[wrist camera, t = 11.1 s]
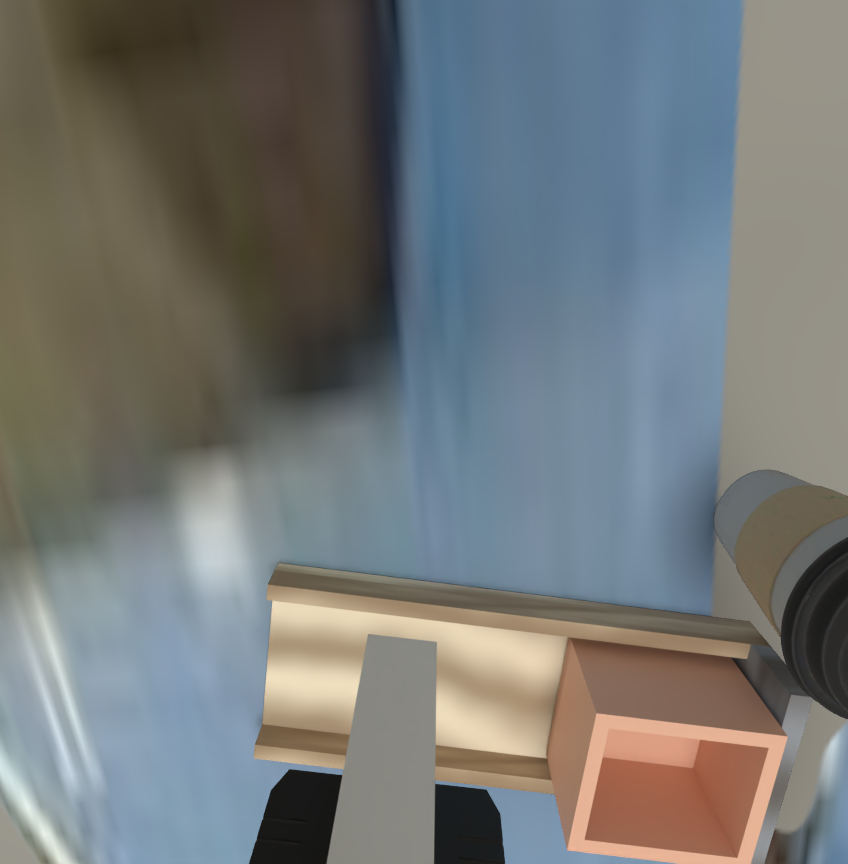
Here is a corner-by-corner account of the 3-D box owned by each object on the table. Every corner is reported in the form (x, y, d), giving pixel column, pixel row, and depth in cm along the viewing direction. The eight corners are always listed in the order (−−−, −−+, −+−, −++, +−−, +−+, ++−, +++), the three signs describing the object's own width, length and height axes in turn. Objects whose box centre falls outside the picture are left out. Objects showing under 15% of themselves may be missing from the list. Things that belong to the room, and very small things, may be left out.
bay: (278, 562, 45) (246, 627, 38) (749, 621, 46) (813, 697, 38) (264, 727, 48) (232, 819, 41) (707, 780, 49) (758, 881, 41)
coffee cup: (858, 453, 43) (1073, 558, 29) (815, 596, 45) (994, 761, 31) (702, 431, 43) (839, 525, 28) (667, 576, 45) (777, 732, 31)
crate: (569, 634, 45) (596, 713, 37) (728, 654, 45) (787, 736, 37) (545, 753, 47) (567, 850, 39) (698, 771, 47) (748, 871, 40)
